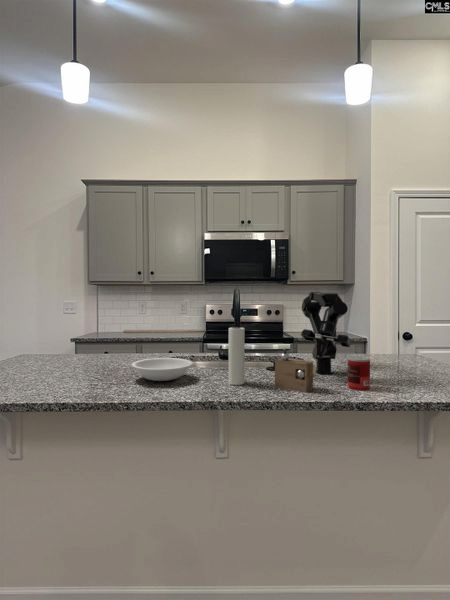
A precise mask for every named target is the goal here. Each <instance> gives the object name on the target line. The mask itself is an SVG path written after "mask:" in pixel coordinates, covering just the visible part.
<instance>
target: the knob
mask: <svg viewBox="0 0 450 600" xmlns="http://www.w3.org/2000/svg"><path fill="white" fill-rule="evenodd" d="M316 374H317V373H316V366H314V365H313V378H315V377H316ZM296 375H297V377H298V378H300V379H301V378H304V377H305V370H299V371H297V373H296Z"/></svg>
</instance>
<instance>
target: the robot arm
mask: <svg viewBox="0 0 450 600" xmlns="http://www.w3.org/2000/svg"><path fill="white" fill-rule="evenodd" d="M322 308H326V309H325V310H324V315H323V317H322V319H321V316H320V313H321V310H322ZM301 311H302V312H303V315H304V316H305V317H306V318H307V319H309V322H310V325H311V328H312V330H311V329H305V328H304V329H302V331H301V333H300V336H301V337H302V338H303V340H304V341H308V342H313V341H315V344H314V348H313V350H312V352H311V353H312V355H311V356H312V358H313V359H314V360H316V362H315V363H316V366H315V369H316V374H319V375H331V374H335V372H334V371H332V360H336V357H337V356H336V355H337V346H336V345H337V343H339V344H340V345H341V346H342V347H345V348H346V347H347V348H350V347H351V342H352V340H351V339H350V337H349V335H346V334H340V333H339V334H337V325H338V321H339V319H340V318H342V317H343V316H344V315H345V314H346V313H347V312H348V305H347V304H346V303H345V302H344V301H343V300H342V298H341V297H340V295H339V294H338V293H337V292H320V291H310V292H309V293H308V295H307V297H305V298H304V299H303V301H302V304H301Z"/></svg>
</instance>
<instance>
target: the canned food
mask: <svg viewBox="0 0 450 600" xmlns="http://www.w3.org/2000/svg"><path fill="white" fill-rule="evenodd" d="M370 381H371V358H370V357H367V356H361V355H353V356H348V357H347V386H348V388H349V389H351V390H355V391H367V390H369V389H370V387H371V382H370Z"/></svg>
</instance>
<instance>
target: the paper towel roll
mask: <svg viewBox="0 0 450 600" xmlns="http://www.w3.org/2000/svg"><path fill="white" fill-rule="evenodd" d="M245 329H246V328H245V327H242V326H241V327H240V326H234V327H229V328H228V384H229V385H233V386H240V385H244V384H245V335H246V334H245Z"/></svg>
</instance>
